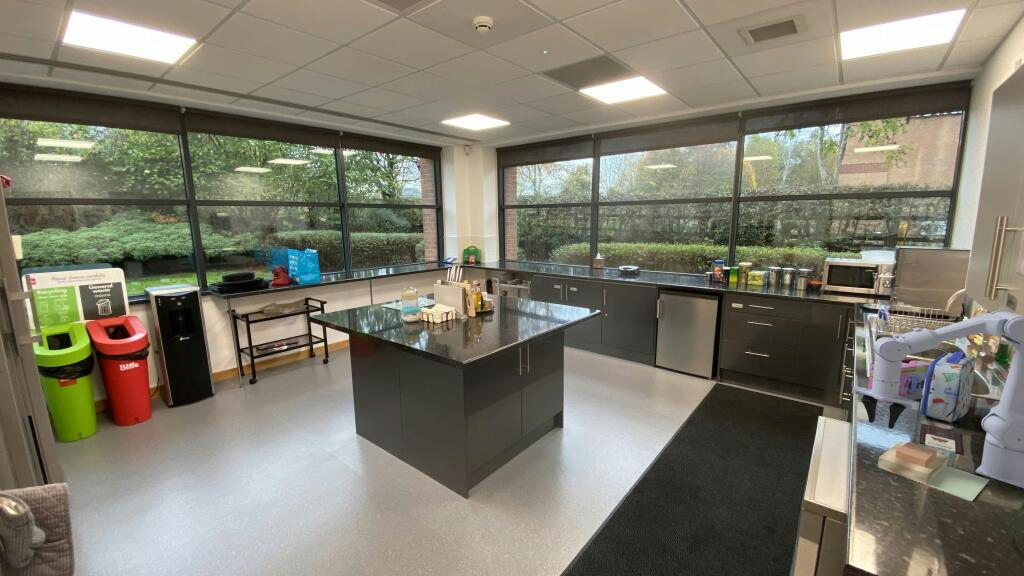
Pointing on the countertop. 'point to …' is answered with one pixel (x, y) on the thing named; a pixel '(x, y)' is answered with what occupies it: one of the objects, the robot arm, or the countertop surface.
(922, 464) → the tile
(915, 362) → the gum box
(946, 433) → the chocolate bar
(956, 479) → the mat
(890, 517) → the countertop surface
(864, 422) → the countertop surface
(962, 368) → the lunch box
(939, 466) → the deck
